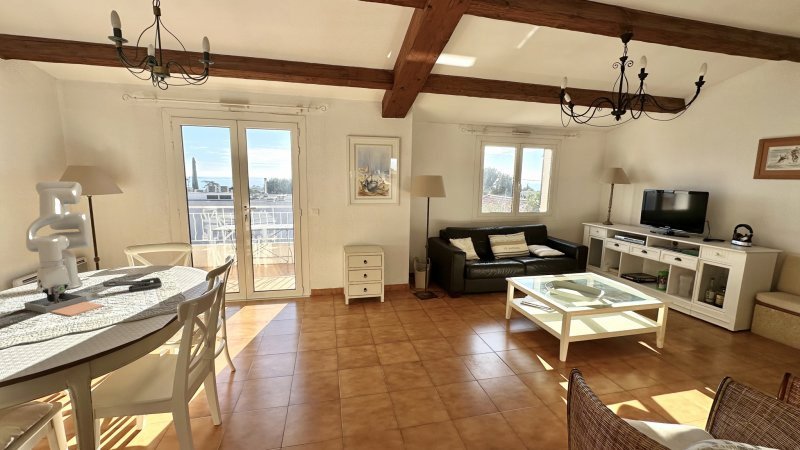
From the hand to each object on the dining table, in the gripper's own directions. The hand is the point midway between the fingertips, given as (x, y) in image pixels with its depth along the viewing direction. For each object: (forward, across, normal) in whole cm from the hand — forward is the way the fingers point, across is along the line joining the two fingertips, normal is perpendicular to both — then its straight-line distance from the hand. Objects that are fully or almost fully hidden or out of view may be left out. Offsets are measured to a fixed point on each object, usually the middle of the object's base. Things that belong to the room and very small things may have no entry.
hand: (56, 299), depth 160 cm
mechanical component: (+3, 0, 0) cm, 3 cm away
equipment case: (+3, -4, 0) cm, 5 cm away
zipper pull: (+3, -28, +12) cm, 30 cm away
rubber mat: (+3, 0, +16) cm, 16 cm away
